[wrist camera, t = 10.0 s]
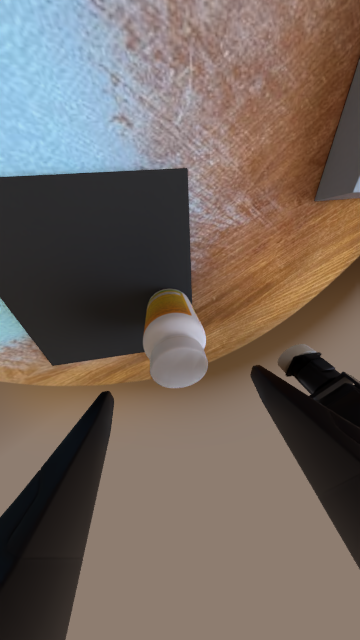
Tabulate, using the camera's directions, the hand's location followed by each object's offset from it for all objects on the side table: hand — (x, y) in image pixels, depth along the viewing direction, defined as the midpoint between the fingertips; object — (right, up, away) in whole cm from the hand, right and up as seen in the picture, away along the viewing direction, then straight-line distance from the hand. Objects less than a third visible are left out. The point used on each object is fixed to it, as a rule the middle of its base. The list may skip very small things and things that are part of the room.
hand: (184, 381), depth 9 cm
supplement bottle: (-2, +5, +9) cm, 11 cm away
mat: (-9, +7, +8) cm, 14 cm away
